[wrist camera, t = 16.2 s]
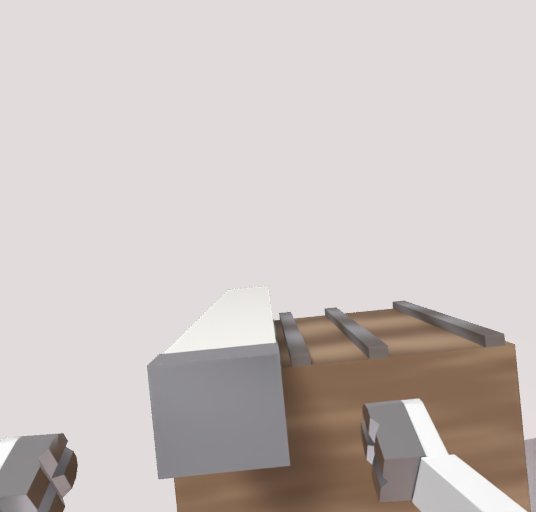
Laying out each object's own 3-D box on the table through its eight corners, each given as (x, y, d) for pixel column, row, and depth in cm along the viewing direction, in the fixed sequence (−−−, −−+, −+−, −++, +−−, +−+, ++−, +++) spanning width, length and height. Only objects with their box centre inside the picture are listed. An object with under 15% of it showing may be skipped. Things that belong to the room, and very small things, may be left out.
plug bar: (290, 465, 10) (279, 352, 10) (158, 479, 10) (147, 365, 10) (272, 320, 33) (268, 285, 33) (231, 324, 33) (227, 289, 33)
